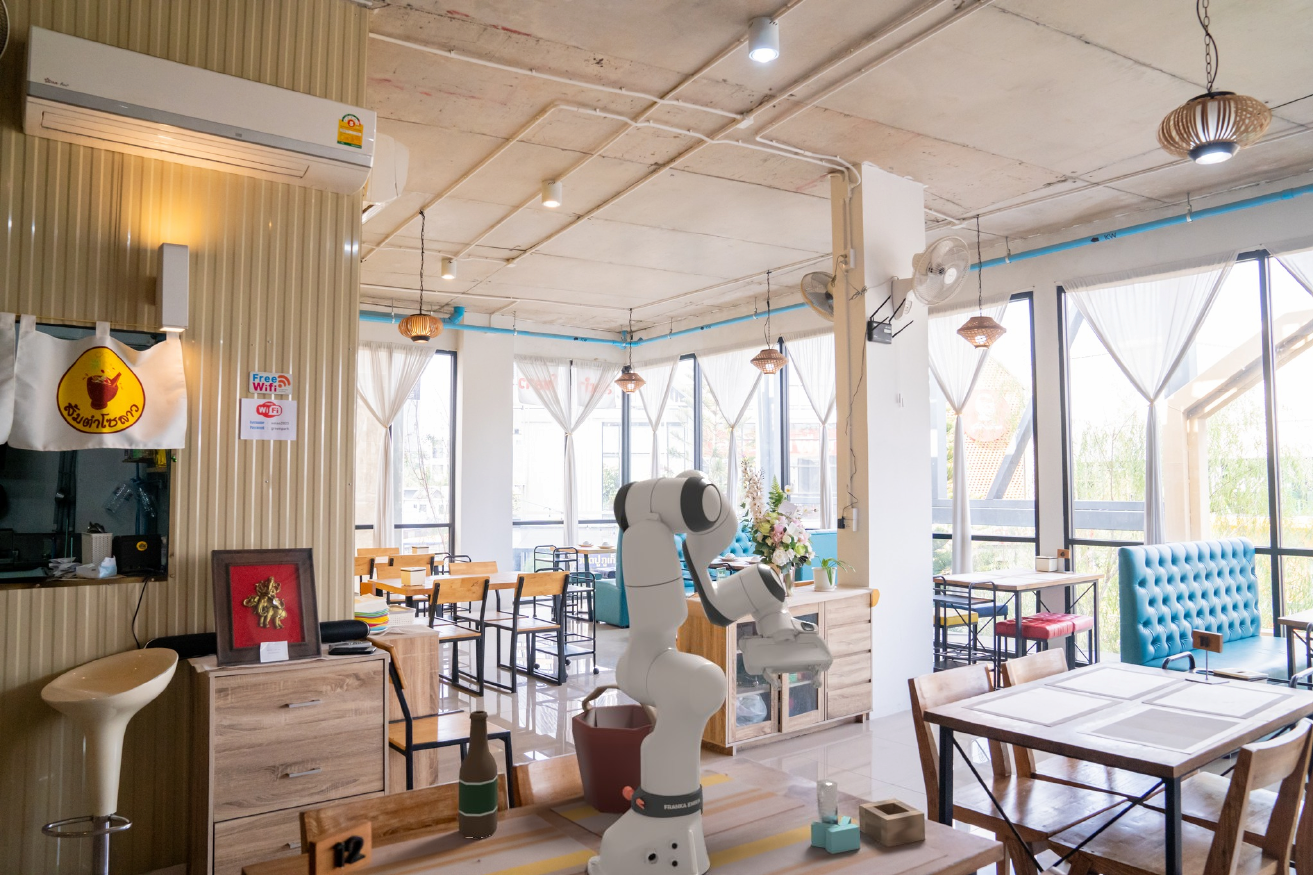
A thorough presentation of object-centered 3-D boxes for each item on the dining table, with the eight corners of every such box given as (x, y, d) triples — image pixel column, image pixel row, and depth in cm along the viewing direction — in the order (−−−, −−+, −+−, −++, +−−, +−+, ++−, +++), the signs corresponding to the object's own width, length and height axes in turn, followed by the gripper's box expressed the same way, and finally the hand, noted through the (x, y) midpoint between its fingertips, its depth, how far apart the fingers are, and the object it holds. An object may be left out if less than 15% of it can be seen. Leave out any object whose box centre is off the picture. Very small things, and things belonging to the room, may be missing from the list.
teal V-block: (825, 855, 158) (824, 833, 158) (808, 843, 163) (807, 822, 164) (866, 846, 162) (865, 825, 162) (848, 835, 167) (847, 815, 167)
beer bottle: (450, 835, 169) (451, 714, 171) (475, 822, 176) (476, 705, 178) (480, 842, 165) (481, 718, 167) (505, 828, 172) (505, 709, 174)
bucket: (559, 792, 194) (559, 682, 196) (644, 776, 204) (643, 672, 206) (603, 827, 172) (603, 704, 174) (695, 808, 183) (694, 691, 185)
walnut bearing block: (887, 846, 162) (887, 820, 162) (859, 829, 170) (858, 804, 170) (925, 839, 165) (924, 813, 165) (895, 823, 173) (895, 798, 174)
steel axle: (825, 845, 162) (824, 787, 163) (814, 837, 166) (812, 781, 167) (843, 841, 164) (841, 784, 165) (831, 834, 168) (829, 778, 168)
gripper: (739, 627, 184) (757, 681, 174) (823, 624, 190) (845, 676, 180) (732, 644, 188) (749, 698, 178) (814, 641, 194) (835, 693, 184)
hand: (798, 687), depth 179 cm, fingers open, 8 cm apart
